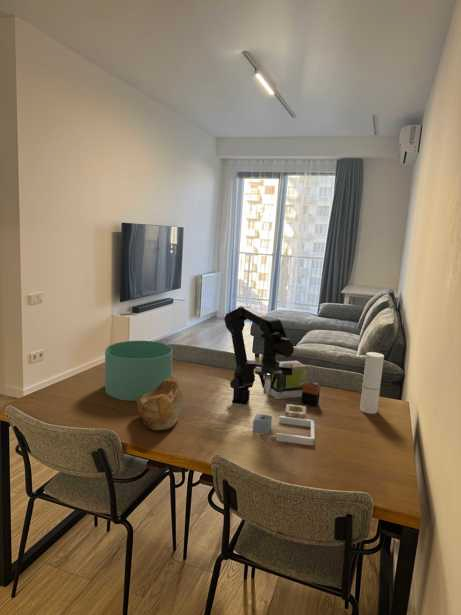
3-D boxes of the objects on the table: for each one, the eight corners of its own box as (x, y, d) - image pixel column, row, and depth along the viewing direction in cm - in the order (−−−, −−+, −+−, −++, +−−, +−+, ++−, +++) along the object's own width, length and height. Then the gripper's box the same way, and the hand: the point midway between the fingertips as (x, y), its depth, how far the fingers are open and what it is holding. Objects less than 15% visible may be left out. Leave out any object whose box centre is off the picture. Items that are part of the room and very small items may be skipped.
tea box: (295, 389, 203) (297, 359, 200) (305, 397, 193) (308, 366, 191) (266, 391, 198) (268, 361, 195) (275, 399, 188) (277, 368, 186)
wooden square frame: (284, 421, 167) (285, 411, 167) (285, 413, 175) (286, 403, 174) (305, 423, 166) (305, 414, 165) (305, 415, 174) (305, 406, 173)
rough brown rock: (149, 406, 176) (147, 372, 173) (188, 408, 172) (186, 374, 169) (125, 433, 153) (121, 394, 150) (168, 436, 150) (165, 397, 147)
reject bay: (276, 440, 151) (277, 434, 151) (279, 421, 167) (279, 415, 166) (313, 445, 149) (314, 439, 148) (313, 426, 164) (313, 420, 164)
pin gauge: (262, 393, 168) (264, 374, 167) (263, 391, 171) (264, 372, 170) (270, 394, 168) (272, 375, 166) (271, 392, 171) (272, 373, 169)
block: (252, 431, 158) (253, 419, 157) (255, 424, 163) (256, 413, 163) (268, 433, 156) (269, 422, 155) (271, 426, 162) (271, 415, 161)
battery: (315, 407, 182) (317, 385, 181) (300, 403, 186) (302, 382, 184) (318, 404, 186) (321, 382, 184) (304, 400, 189) (306, 379, 188)
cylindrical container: (377, 409, 185) (384, 354, 180) (376, 415, 178) (383, 358, 174) (361, 405, 188) (367, 351, 183) (358, 411, 181) (365, 355, 177)
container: (184, 387, 197) (186, 348, 194) (139, 407, 173) (140, 363, 169) (138, 373, 213) (139, 337, 210) (90, 389, 188) (90, 349, 185)
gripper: (243, 353, 160) (241, 392, 163) (293, 358, 157) (290, 398, 160) (247, 346, 171) (245, 382, 174) (294, 350, 168) (291, 388, 171)
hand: (267, 388), depth 169 cm, fingers closed on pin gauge, 3 cm apart
